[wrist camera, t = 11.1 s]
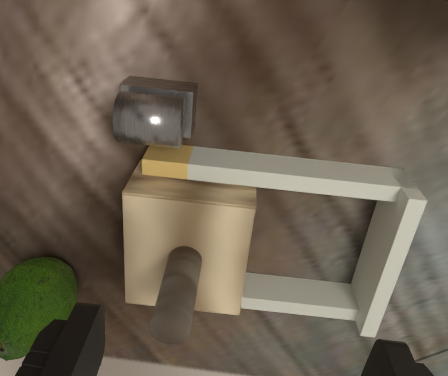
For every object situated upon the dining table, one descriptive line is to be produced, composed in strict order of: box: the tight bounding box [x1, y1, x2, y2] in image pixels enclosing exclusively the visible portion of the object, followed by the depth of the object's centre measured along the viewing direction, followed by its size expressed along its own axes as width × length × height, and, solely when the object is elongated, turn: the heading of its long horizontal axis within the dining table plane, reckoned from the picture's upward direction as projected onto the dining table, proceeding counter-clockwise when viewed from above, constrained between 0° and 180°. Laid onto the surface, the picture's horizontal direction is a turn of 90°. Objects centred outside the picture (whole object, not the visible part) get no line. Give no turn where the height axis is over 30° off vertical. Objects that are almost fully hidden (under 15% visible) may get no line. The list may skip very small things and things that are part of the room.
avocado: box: [0, 257, 78, 361], centre depth 42 cm, size 8×8×12 cm
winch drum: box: [113, 76, 197, 149], centre depth 34 cm, size 6×4×7 cm, turn 85°
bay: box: [142, 145, 427, 337], centre depth 40 cm, size 24×16×6 cm, turn 85°
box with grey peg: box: [122, 160, 257, 344], centre depth 36 cm, size 11×12×15 cm
